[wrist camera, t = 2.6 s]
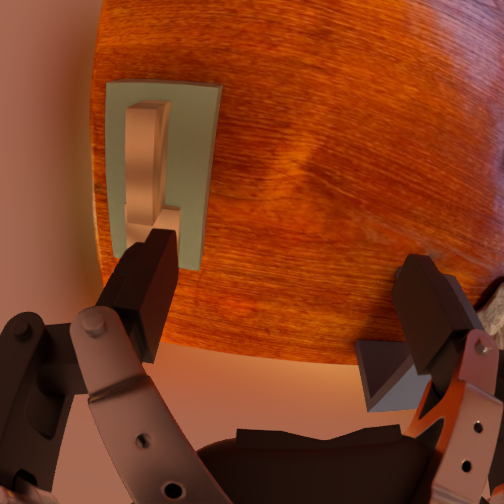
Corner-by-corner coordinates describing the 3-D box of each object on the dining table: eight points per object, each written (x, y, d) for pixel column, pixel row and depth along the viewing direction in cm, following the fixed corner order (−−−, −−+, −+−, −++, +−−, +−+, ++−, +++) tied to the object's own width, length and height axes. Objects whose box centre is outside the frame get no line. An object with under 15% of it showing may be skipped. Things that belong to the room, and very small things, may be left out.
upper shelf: (353, 345, 45) (367, 412, 36) (399, 266, 36) (433, 341, 26) (405, 347, 46) (423, 408, 36) (454, 275, 37) (490, 340, 27)
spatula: (127, 98, 22) (106, 107, 19) (189, 102, 23) (177, 110, 20) (130, 256, 32) (118, 280, 29) (179, 264, 33) (170, 289, 30)
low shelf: (122, 241, 35) (113, 256, 33) (120, 79, 24) (106, 82, 21) (203, 254, 36) (199, 270, 33) (223, 84, 25) (218, 87, 22)
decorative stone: (479, 280, 37) (493, 303, 33) (523, 269, 36) (538, 289, 31) (458, 331, 44) (468, 353, 40) (501, 319, 43) (512, 338, 39)
